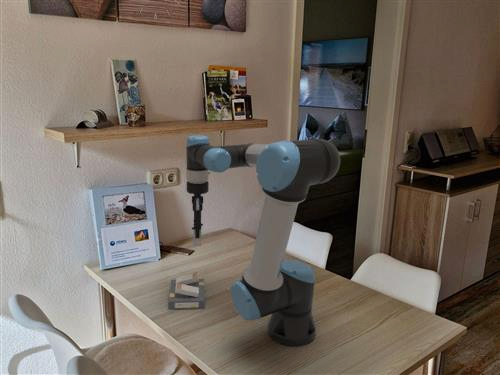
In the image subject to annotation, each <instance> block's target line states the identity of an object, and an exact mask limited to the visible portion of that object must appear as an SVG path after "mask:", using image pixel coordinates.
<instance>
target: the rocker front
mask: <svg viewBox="0 0 500 375" xmlns="http://www.w3.org/2000/svg"><path fill="white" fill-rule="evenodd" d="M175 293H179V294H184V295H189V296H194V297H198V295H199V288H198V287H193V286H189V285H184V284H180V283H176V286H175Z"/></svg>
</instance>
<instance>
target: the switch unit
mask: <svg viewBox="0 0 500 375" xmlns="http://www.w3.org/2000/svg"><path fill="white" fill-rule="evenodd" d="M204 279H205V278H199V281H197V282H193V283H189V284H186V285H189V286H193V287H198V288H199V295H198V297H194V296H189V295H184V294H179V293H175V286H176V279H171V280H170V287H169V288H170V289H169V296H168V297H169V298H168V310H169V311H170V310H193V309H194V310H195V309H196V310H197V309H204V310H205V307H206V305H205V303H206V301H205V280H204Z"/></svg>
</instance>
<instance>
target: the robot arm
mask: <svg viewBox="0 0 500 375" xmlns="http://www.w3.org/2000/svg"><path fill="white" fill-rule="evenodd" d="M185 148H186V149H185V150H186V154H185V156H186V167H185V169H186V192H187V193H188V194H192V195H191V204H192V211H193V220H192V221H193V226H192V227H191V230H193V236H192V237H193V239H192V240H193V241H192V243H193V247H202V227H204V224H203V223H202V211H203V204H204V196H203V195H206V194H207V193H209V189H210V188H209V186H210V185H209V175H211V172H214V173H224V172H226V171H227V170H230V169H235V168H246V167H248V168H255V170H256V171H255V172H256V173H257V176H256V179H257V182H258V184H259V185H260V187H261V191H262V193H263V194H264V195H265V197H264V202H263V207H262V211H261V216H260V220H259V225H258V229H257V234H256V237H255V243H254V246H253V252H252V254H251V255H252V256H251V259H250V264H248V265H247V266H245V268H244V269H243V270H242V276H241V279H240V280H236V281H234V282H233V283H232V284H231V286H230V296H231V300H232V303H233V304H232V305H233V306H234V308H235V310H236V312H237V313H238V315H239V316H240V317H241V318H242V319H243V320H245V321H247V322H249V321H251V322H252V321H255V320H260V319H262V318H264V317H267V316H269V320H268V322H267V334H268V336H269V337H270V338H271V339H272V340H273V341H275V342H277V343H279V344H281V345H286V346H290V347H299V346H305V345H308V344H310V343H311V342H313V341H314V339H315V338H316V333H317V325H316V323H315V318H314V315H313V312H312V311H313V302H314V293H315V292H314V290H315V282H316V281H315V271H314V268H312V266H310V265H309V264H308V263H305V262H303V261H300V260H295V259H285V256H286V252H287V248H288V243H289V240H290V237H291V232H292V228H293V225H294V221H295V217H296V214H297V209H298V206H299V204H300V203H303V202H304V201H306V199H307V196H308V193H309V189H310V186H314V185H320V184H324V183H326V182H329V181H331V179H333V178H334V177H335V176H336V175H337V173H338V171H339V169H340V165H341V156H340V155H341V154H340V152H339V150H338V149H337V148H338V147H336V145H334V144H333V143H332V142H331V141H329V140H326V139H322V138H311V139H300V140H297V139H296V140H280V141H277V142H271V143H270V144H269V143H268V144H265V143H263V144H261V143H253V142H252V143H251V142H250V143H243V144H233V145H218V146H215V145H214V146H213V145H210V139H209V137H208V136H206V135H202V134H201V135H200V134H198V135H197V134H196V135H195V134H194V135H189V136H188V137H187V138H186V146H185ZM312 340H313V341H312Z"/></svg>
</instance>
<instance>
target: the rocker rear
mask: <svg viewBox="0 0 500 375" xmlns="http://www.w3.org/2000/svg"><path fill="white" fill-rule="evenodd" d="M199 279H200V278H199V273H198V271H197V272H193V273H188V274H185V275H181V276H178V277H175V280H176V283H180V284H184V285H186V284H189V283H193V282H197V281H199Z"/></svg>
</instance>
